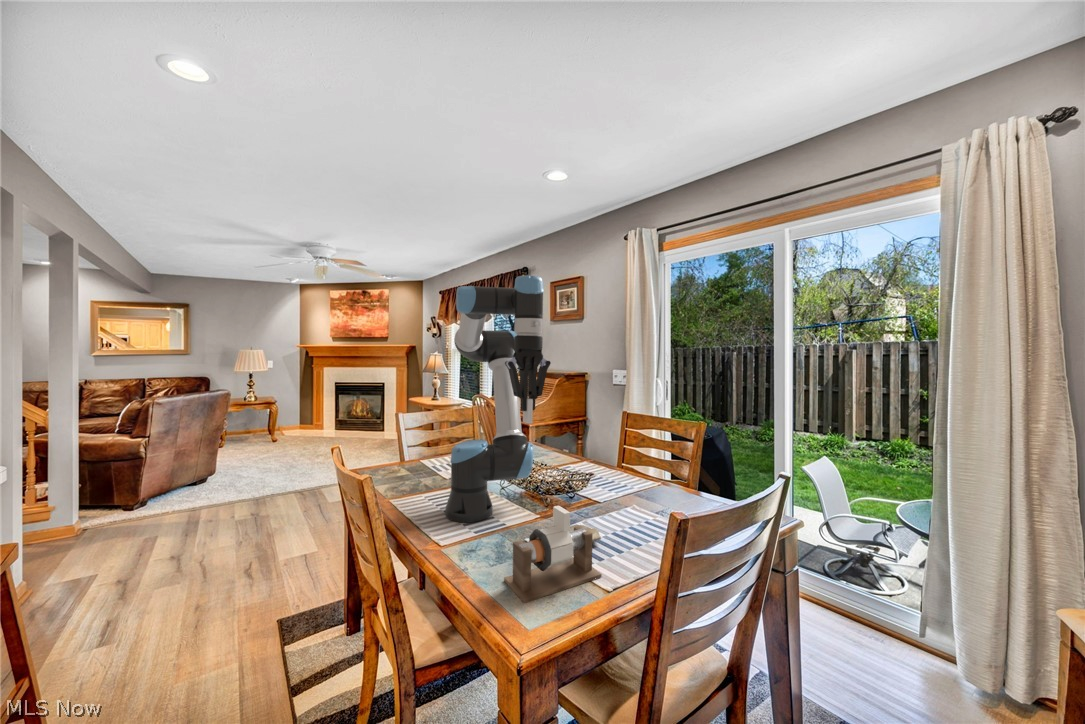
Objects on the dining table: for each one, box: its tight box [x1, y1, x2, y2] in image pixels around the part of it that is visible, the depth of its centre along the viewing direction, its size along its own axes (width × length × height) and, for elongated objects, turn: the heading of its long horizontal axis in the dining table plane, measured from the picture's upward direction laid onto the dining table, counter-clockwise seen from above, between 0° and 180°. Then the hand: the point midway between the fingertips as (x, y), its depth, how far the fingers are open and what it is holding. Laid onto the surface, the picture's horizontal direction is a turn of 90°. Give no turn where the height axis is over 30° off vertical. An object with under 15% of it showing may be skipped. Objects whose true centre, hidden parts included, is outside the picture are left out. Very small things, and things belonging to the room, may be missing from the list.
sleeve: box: [535, 505, 574, 568], centre depth 104 cm, size 6×8×12 cm
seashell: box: [569, 524, 602, 543], centre depth 124 cm, size 12×12×3 cm
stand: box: [503, 526, 602, 604], centre depth 104 cm, size 21×10×10 cm, turn 121°
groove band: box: [528, 539, 545, 564], centre depth 102 cm, size 4×5×5 cm
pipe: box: [519, 528, 586, 564], centre depth 104 cm, size 18×4×4 cm, turn 121°
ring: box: [528, 528, 551, 571], centre depth 102 cm, size 1×9×9 cm, turn 30°
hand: (527, 422), depth 118 cm, fingers closed
